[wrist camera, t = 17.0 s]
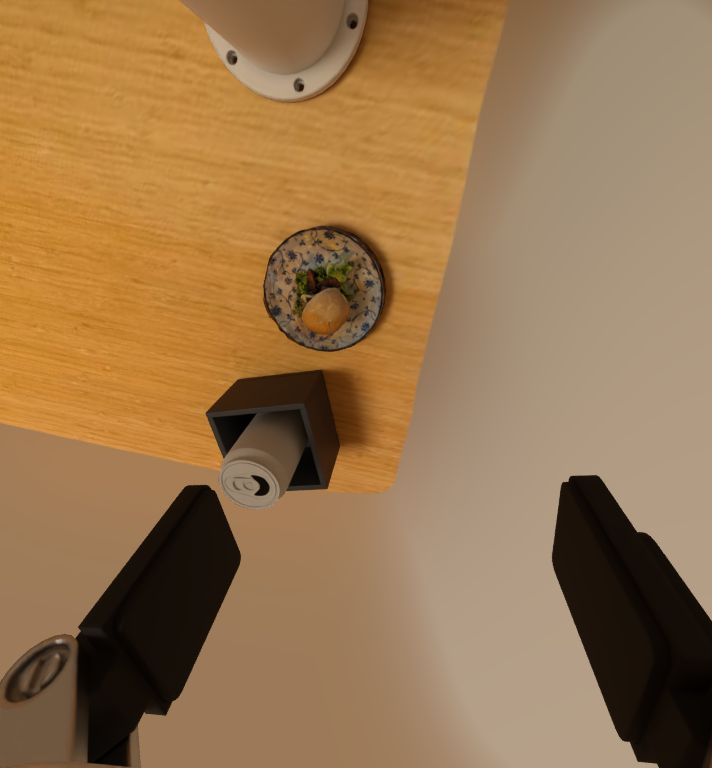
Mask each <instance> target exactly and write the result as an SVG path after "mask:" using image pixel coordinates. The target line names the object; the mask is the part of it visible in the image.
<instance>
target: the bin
mask: <svg viewBox="0 0 712 768" xmlns="http://www.w3.org/2000/svg"><path fill="white" fill-rule="evenodd" d="M296 409H300V411H301V415H302V418H303V422H304V426H305V429H306V433H307V436H308V442H307V444H306V447H305V449H304V451H303V454H302V456H301V458H300V460H299V463H298V465H297V467H296V470H295V472H294V474H293V476H292V479H291V481H290V483H289V486H288V488H287V490H286V491H294V490H295V491H296V490H316V489H328V485H329V482H330V479H331V475H332V472H333V468H334V465H335V461H336V458H337V454H338V451H339V447H340V444H339V440H338V435H337V431H336V427H335V423H334V419H333V414H332V410H331V406H330V402H329V398H328V393H327V389H326V385H325V381H324V377H323V372H322V370H317V371H309V372H300V373H291V374H283V375H274V376H265V377H257V378H248V379H239V380H237V381H236V382H235V383H234V384H233V385H232V386H231V387H230V388H229V389H228V390H227V391H226V392H225V393H224V394H223V395H222V396H221V397H220V398H219V399H218V401H217V402H216V403H215V404H214V405H213V406H212V407H211V408H210V409H209V410H208V411H207V412H206V416H207V418H208V421H209V423H210V426H211V428H212V431H213V433H214V436H215V438H216V441H217V443H218V446H219V448H220V451H221V453H222V455H223V458H225V456H226V455H227V454H228V452H229V451H230V450H231V448H232V447H233V445H234V444H235V443H236V441H237V440H238V439H239V437H240V436H241V435H242V433H243V432H244V430H245V429H246V428H247V426H248V425H249V424H250V422H251V421H252V420H253V418H254V417H255V415H256V414H257V413H265V412H275V411H286V410H296Z"/></svg>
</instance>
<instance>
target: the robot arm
mask: <svg viewBox="0 0 712 768" xmlns="http://www.w3.org/2000/svg"><path fill="white" fill-rule="evenodd" d="M179 1H181V2H182V3H183V4H184V5H185V6H186V7H188V8H189V9H190V10H191V11H192V12H193V13H194V14H196V15H197V16H198V17H199V18H200V19H201V20H203V21H204V24H205V27H206V30H207V33H208V36H209V38H210V40H211V42H212V44H213V46H214V48H215V50H216V52H217V54H218V56H219V57H220V59H221V60H222V61H223V63H224V64H225V66H226V67H227V68H228V70H229V71H230V72H231V73H232V74H233V75H234V76H235V77H236V78H237V79H238V80H239V81H240V82H241V83H242V84H244V85H245V86H246V87H248V88H249V89H250V90H252V91H254V92H256V93H257V94H259V95H261V96H263V97H265V98H268V99H271V100H275V101H278V102H298V101H303V100H308V99H310V98H312V97H314V96H316V95H318V94H321V93H322V92H324V91H325V90H326V89H327V88H329V87H330V86H331V85H333V84H334V83H335V82H336V81H337V80H338V78H339V77H340V76H341V75H342V74H343V73H344V71H345V70H346V69H347V67H348V65H349V64H350V62H351V60H352V59H353V57H354V55H355V53H356V51H357V48H358V46H359V43H360V41H361V38H362V35H363V31H364V27H365V23H366V18H367V13H368V1H369V0H179ZM353 22H356V23H357V26H356V28H354V29H351V24H352V23H353ZM235 58H237V63H236V64H235V63H234V60H235ZM300 85H304V89H303V91H299V87H300ZM240 560H241V554H240V551H239V548H238V546H237V544H236V541H235V539H234V537H233V534H232V531H231V529H230V526H229V524H228V521H227V519H226V516H225V514H224V512H223V509H222V506H221V504H220V501H219V499H218V497H217V494H216V492H215V491H214V490H211V488H210V487H209V486H208V485H189V486H186V487H185V488H184V489H183V490H182V492H181V493H180V494H179V495H178V497H177V498H176V499H175V500H174V502H173V503H172V504H171V506H170V507H169V508H168V510H167V511H166V512H165V514H164V515H163V516H162V517H161V519H160V520H159V521H158V523H157V524H156V525H155V527H154V528H153V529H152V531H151V532H150V534H149V535H148V536H147V537H146V538H145V540H144V541H143V542H142V544H141V545H140V546H139V548H138V549H137V550H136V552H135V553H134V554H133V556H132V557H131V558H130V560H129V561H128V562H127V563H126V565H125V566H124V567H123V569H122V570H121V571H120V573H119V574H118V575H117V577H116V578H115V579H114V580H113V582H112V583H111V584H110V586H109V587H108V588H107V590H106V591H105V592H104V594H103V595H102V596H101V598H100V599H99V600H98V602H97V603H96V604H95V606H94V607H93V608H92V609H91V611H90V612H89V613H88V615H87V616H86V617H85V619H84V620H83V621H82V623H81V624H80V625H79V626H78V628H79V629H80V630H81V632H80V633H79V634H78V636H77V637H76V638H74V637H73V636H72V635H66V634H62V635H57V636H53V637H51V638H48V639H46V640H44V641H42V642H40V643H39V644H37V645H36V646H34V647H33V648H31V649H30V650H29V651H27V652H26V653H25V654H24V655H23V656H21V658H19V659H18V660H17V661H16V662H15V663H14V664H13V666H12V667H11V668H10V669H9V670H8V671H7V673H6V674H5V676H4V677H3V679H2V680H1V682H0V768H141V766H140V751H139V736H138V723H139V721H140V719H141V717H142V715H143V713H144V712H145V713H146V714H156V715H166V714H167V712H168V710H169V708H170V705H171V703H172V701H174V700H176V699H177V698H178V697H179V696H180V694H181V692H182V690H183V688H184V686H185V684H186V681H187V679H188V677H189V675H190V673H191V671H192V668H193V666H194V664H195V662H196V660H197V657H198V655H199V653H200V651H201V649H202V646H203V644H204V642H205V640H206V638H207V635H208V633H209V631H210V629H211V627H212V624H213V622H214V620H215V618H216V615H217V613H218V611H219V609H220V607H221V604H222V602H223V600H224V598H225V596H226V594H227V591H228V589H229V587H230V585H231V583H232V580H233V578H234V576H235V574H236V572H237V569H238V567H239V565H240ZM552 562H553V567H554V571H555V573H556V576H557V579H558V581H559V584H560V587H561V589H562V592H563V594H564V597H565V600H566V602H567V605H568V607H569V610H570V612H571V615H572V618H573V620H574V623H575V625H576V628H577V631H578V633H579V636H580V638H581V641H582V644H583V646H584V649H585V651H586V654H587V657H588V659H589V662H590V664H591V667H592V669H593V672H594V675H595V677H596V680H597V682H598V685H599V688H600V690H601V693H602V695H603V698H604V701H605V703H606V706H607V708H608V711H609V713H610V716H611V719H612V721H613V724H614V726H615V729H616V731H617V733H618V735H619V737H620V738H621V739H622V740H623V741H626V742H630V744H631V746H632V749H633V751H634V753H635V756H636V758H637V761H638V762H646V763H656V764H658V767H659V768H712V621H711V620H710V618H709V616H708V615H707V614H706V612H705V611H704V609H703V608H702V607H701V605H700V604H699V603H698V601H697V600H696V598H695V597H694V595H693V594H692V593H691V591H690V590H689V588H688V587H687V585H686V584H685V583H684V581H683V580H682V578H681V577H680V576H679V574H678V573H677V571H676V570H675V569H674V567H673V566H672V564H671V563H670V561H669V560H668V559H667V557H666V556H665V554H664V553H663V552H662V550H661V549H660V547H659V546H658V545H657V543H656V542H655V541H654V540H653V539H652V538H651V536H649V535H648V534H646V533H643V532H637V531H636V530H635V528H634V527H633V525H632V524H631V522H630V521H629V519H628V518H627V516H626V515H625V514H624V512H623V511H622V509H621V508H620V506H619V505H618V503H617V502H616V500H615V499H614V497H613V496H612V494H611V493H610V491H609V490H608V488H607V487H606V485H605V484H604V482H603V481H602V480H601V479H600V477H599V476H597V475H590V476H571V477H570V478H569V481H568V482H563V483H562V485H561V491H560V499H559V507H558V514H557V522H556V529H555V537H554V545H553V552H552Z"/></svg>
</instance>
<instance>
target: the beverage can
mask: <svg viewBox="0 0 712 768" xmlns="http://www.w3.org/2000/svg"><path fill="white" fill-rule="evenodd" d="M307 442H308V436H307V433H306V429H305V426H304V422H303V418H302V415H301V411H300V409H296V410H286V411H275V412H265V413H257V414H256V415H255V417H254V418H253V420H252V421H251V422H250V424H249V425H248V426H247V428H246V429H245V430H244V432H243V433H242V435H241V436H240V437H239V439H238V440H237V441H236V443H235V444H234V445H233V447H232V448H231V450H230V451H229V452H228V454H227V455H226V456H225V458H224V459H223V462H222V465H221V471H220V473H219V484H220V487H221V489H222V491H223V493H224V494H225V495H226V496H227V497H228V498H229V499H230V500H231V501H233V502H234V503H236V504H237V505H239V506H242V507H244V508H248V509H253V510H259V509H265V508H268V507H270V506H272V505H273V504H275V503H276V501H277V500H278V499H279V498H280V497H282V496H283V495H284V493H285V492H286V490H287V488H288V486H289V483H290V481H291V479H292V476H293V474H294V472H295V470H296V467H297V465H298V463H299V460H300V458H301V456H302V454H303V451H304V449H305V447H306V444H307Z"/></svg>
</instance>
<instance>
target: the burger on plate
mask: <svg viewBox="0 0 712 768" xmlns="http://www.w3.org/2000/svg"><path fill="white" fill-rule="evenodd" d="M263 288H264V297H263V300H264V304H265V307H266V310H267V312H268V315H269V317H270V318H272V319H273V320H274V322H276V324H277V325H278V327H279V329H280V331H281V332H284V333H285V334H286V336H287V338H289V339H290V340H292V341H293V342H296V343H297V344H299V345H301V346H304V347H306V348H310V349H313V350H317V351H325V352H333V351H339V350H342V349H346V348H349V347H352V346H354V345H355V344H356V343H358V342H360V341H361V340H363V339H365V338H366V336H367V335H368V334H369V333H370V332H371V330H372V329H373V328H374V326H375V324H376V322H377V321H378V319H379V317H380V315H381V313H382V309H383V306H384V303H385V294H386V288H385V278H384V275H383V271H382V268H381V265H380V263H379V261H378V259H377V257H376V255H375V254H374V253H373V251H372V250H371V249H370V248H369V246H368V245H367V244H366V243H364V242H363V241H362V240H361V239H360V238H359V237H358V236H356V235H354V234H352V233H350V232H346V231H343V230H340V229H336V228H333V227H327V226H318V227H314V228H311V229H307V230H301V231H299V232H297V233H295V234H293V235H291V236H290V237H288V238H287V239H286V240H285V241H284V242H283V243H281V244H280V246H279V247H278V248H277V249H276V250H275V251H274V252H273V254H272V255H271V257H270V259H269V262H268V267H267V271H266V276H265V280H264V284H263Z"/></svg>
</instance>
